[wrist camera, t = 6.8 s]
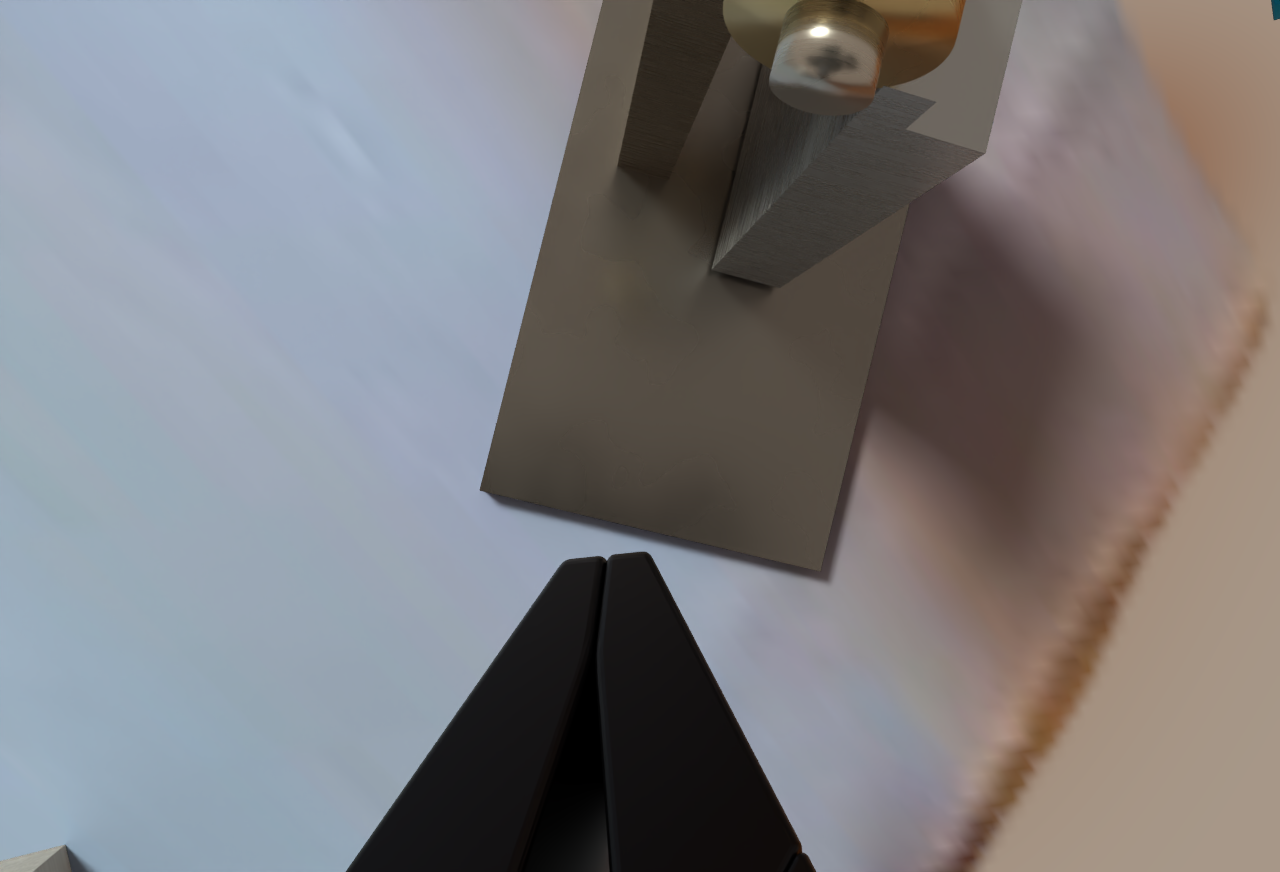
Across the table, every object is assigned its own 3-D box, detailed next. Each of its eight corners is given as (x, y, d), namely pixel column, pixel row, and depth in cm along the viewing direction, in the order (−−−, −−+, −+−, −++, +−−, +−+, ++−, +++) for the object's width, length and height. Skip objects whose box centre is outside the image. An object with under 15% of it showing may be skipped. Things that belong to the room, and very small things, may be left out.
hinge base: (813, 568, 19) (1262, 807, 7) (481, 488, 18) (326, 601, 6) (945, 23, 19) (1600, -672, 7) (624, -80, 18) (751, -1060, 6)
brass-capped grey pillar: (772, 313, 18) (1133, 114, 7) (623, 273, 17) (736, -11, 6) (841, 33, 18) (1307, -626, 7) (694, -14, 17) (930, -790, 6)
